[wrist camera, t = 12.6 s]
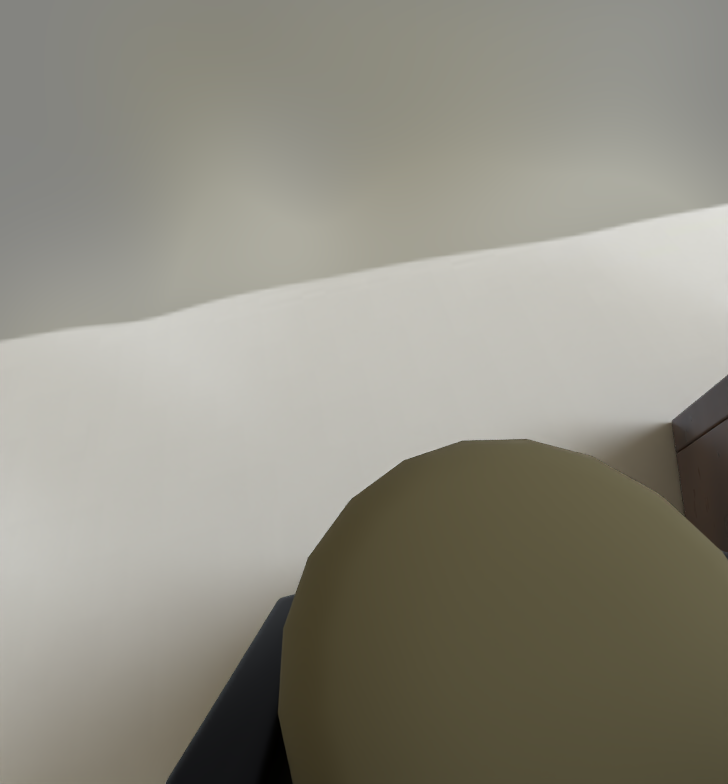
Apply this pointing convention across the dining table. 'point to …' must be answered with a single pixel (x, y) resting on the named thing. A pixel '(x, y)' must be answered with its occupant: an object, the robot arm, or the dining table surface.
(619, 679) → the olive pawn
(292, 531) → the dining table surface
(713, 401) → the frame
